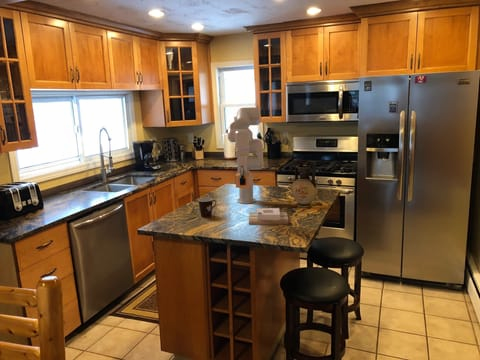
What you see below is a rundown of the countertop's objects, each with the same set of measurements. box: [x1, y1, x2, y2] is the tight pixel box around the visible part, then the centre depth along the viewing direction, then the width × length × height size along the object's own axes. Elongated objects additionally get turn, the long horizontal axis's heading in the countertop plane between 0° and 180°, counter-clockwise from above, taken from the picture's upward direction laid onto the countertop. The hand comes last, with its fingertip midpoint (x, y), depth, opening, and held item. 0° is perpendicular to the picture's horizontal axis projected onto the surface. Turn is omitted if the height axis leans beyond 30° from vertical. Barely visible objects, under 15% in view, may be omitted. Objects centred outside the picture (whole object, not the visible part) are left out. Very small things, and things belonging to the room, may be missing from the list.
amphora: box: [290, 158, 319, 208], centre depth 250 cm, size 18×17×30 cm
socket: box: [256, 207, 280, 220], centre depth 224 cm, size 13×13×4 cm
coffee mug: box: [197, 197, 217, 218], centre depth 235 cm, size 12×9×10 cm
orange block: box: [235, 172, 251, 191], centre depth 221 cm, size 7×8×9 cm
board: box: [248, 211, 289, 225], centre depth 224 cm, size 16×22×2 cm
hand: (243, 183), depth 222 cm, fingers closed on orange block, 6 cm apart
